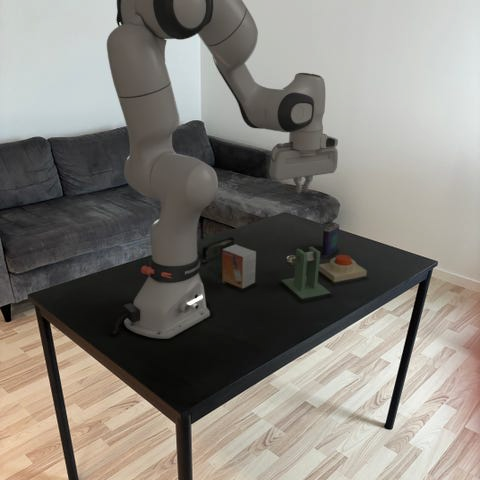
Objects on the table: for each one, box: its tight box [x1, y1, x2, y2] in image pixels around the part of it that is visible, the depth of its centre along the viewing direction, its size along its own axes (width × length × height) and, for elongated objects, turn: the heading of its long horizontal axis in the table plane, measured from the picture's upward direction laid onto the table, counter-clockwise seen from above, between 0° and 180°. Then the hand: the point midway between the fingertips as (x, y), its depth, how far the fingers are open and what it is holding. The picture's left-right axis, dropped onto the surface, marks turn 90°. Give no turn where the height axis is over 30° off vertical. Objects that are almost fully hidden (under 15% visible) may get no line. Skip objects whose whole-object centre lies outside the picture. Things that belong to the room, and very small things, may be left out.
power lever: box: [285, 251, 314, 267], centre depth 134 cm, size 13×3×3 cm, turn 22°
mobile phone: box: [202, 236, 235, 264], centre depth 154 cm, size 5×3×15 cm
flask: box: [321, 221, 340, 256], centre depth 155 cm, size 9×3×11 cm, turn 147°
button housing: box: [319, 257, 368, 283], centre depth 141 cm, size 11×9×4 cm
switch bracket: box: [280, 246, 331, 300], centre depth 131 cm, size 12×9×12 cm
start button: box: [335, 254, 352, 266], centre depth 140 cm, size 4×4×2 cm
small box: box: [221, 243, 257, 289], centre depth 134 cm, size 8×6×10 cm
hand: (302, 192), depth 135 cm, fingers closed
